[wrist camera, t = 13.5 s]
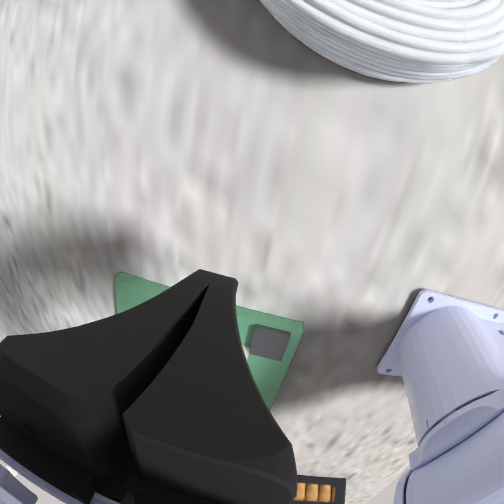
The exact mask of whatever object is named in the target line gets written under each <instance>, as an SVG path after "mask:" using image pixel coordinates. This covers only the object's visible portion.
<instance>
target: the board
mask: <svg viewBox="0 0 504 504" xmlns="http://www.w3.org/2000/svg"><path fill="white" fill-rule="evenodd" d="M168 288H170V287H168V286H164V285H161V284H158V283H154V282H151V281H148V280H145V279H141V278H138V277H135V276H132V275H129V274H126V273H122V272H121V273H120V274H119V275H118V276H117V277H116V278H115V291H116V309H117V314H118V313H121V312H123V311H126V310H128V309H131V308H133V307H135V306H137V305H139V304H141V303H143V302H145V301H147V300H149V299H151V298H153V297H155V296H157V295H158V294H160V293H162V292H163V291H165V290H167V289H168ZM236 315H237V323H238V329H239V334H240V338H241V343H242V346H243V350H244V353H245V357H246V360H247V363H248V365H249V368H250V371H251V374H252V376H253V378H254V381H255V383H256V385H257V387H258V389H259V391H260V393H261V395H262V398H263V400H264V402H265V403H266V405H267V407H268V409H269V411H270V409H271V406H272V404H273V402H274V400H275V398H276V395H277V393H278V391H279V389H280V386H281V384H282V382H283V379H284V377H285V375H286V372H287V370H288V368H289V365H290V363H291V361H292V358H293V356H294V353H295V351H296V349H297V346H298V344H299V341H300V339H301V336H302V334H303V328H304V323H303V322H299V321H295V320H290V319H286V318H282V317H278V316H274V315H270V314H266V313H262V312H258V311H254V310H250V309H246V308H243V307H239V306H236Z"/></svg>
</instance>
